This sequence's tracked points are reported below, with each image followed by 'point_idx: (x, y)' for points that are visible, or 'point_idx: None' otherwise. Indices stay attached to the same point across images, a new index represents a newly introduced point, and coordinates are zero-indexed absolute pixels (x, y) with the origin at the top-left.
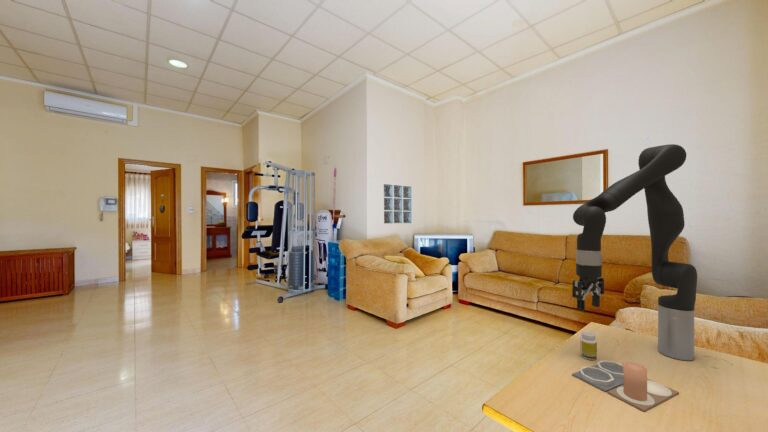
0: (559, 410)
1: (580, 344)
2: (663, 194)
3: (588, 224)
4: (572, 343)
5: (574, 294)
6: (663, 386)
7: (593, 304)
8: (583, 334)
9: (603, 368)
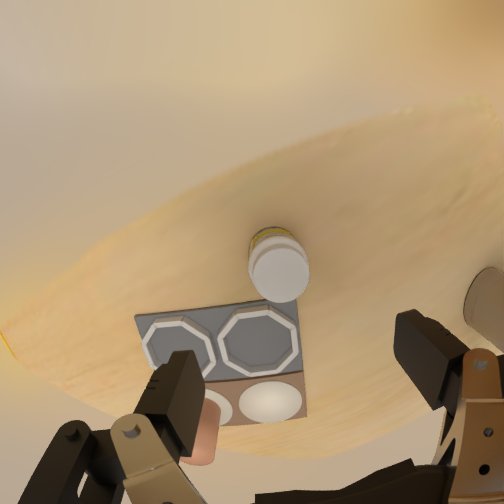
0: (59, 370)
1: (254, 243)
2: None
3: None
4: (315, 148)
5: (69, 456)
6: (296, 406)
7: (402, 327)
8: (252, 273)
9: (222, 343)
